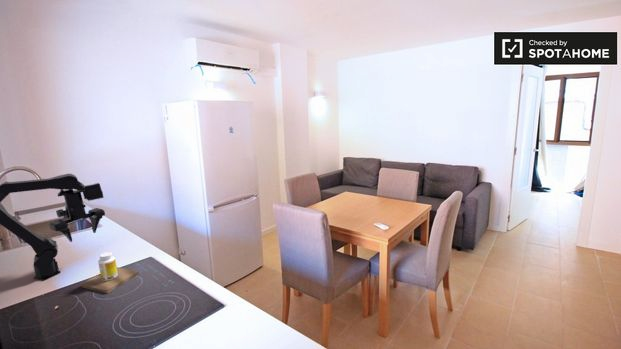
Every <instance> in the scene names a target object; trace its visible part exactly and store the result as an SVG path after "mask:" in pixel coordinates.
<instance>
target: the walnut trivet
mask: <svg viewBox="0 0 621 349" xmlns="http://www.w3.org/2000/svg"><path fill="white" fill-rule="evenodd" d="M116 267H117V272H118V275H117V277H116V278H114V279H112V280H109V281H103V280H102V279H101V274H100V273H98V274H97V275H95V276H93V277H90V278H89V279H87V280H85V281H83V282H82V283H80V288H81V289H82V288H83V289H88V290H92V291H95V292H100V293H104V294H109V293H110V292H112V291H113V290H115V289H117V288H119V287H120V286H122V285H124V284H125V283H127V282H128V281H130V280H131V279H133V278H135V277H137V276H138V275H139V274H140V273H139V271H137V270H133V269H128V268H124V267H123V268H122V267H118V266H116ZM136 275H137V276H136Z"/></svg>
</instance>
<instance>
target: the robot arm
mask: <svg viewBox="0 0 621 349" xmlns="http://www.w3.org/2000/svg"><path fill="white" fill-rule="evenodd" d="M49 189H50V190H51V189H52V190H60V191H58V192H57V197H63V198H64V202H65V207H64V208H65V210H64V209H62V208H60V209H57V210H56V211H55V213H56V216H57V218H63V219H65V220H63V219H57V220H55V221H52V222H50V223H49V225H48V226H49V229H50V231H51V230H52V231H55V232H59V233H62V234H63V235H64V236H65V237H66V239H67V240H68V241H69V242H70V243H72V242H73V237H72V232H71V230H70V227H69V226H68V225H71V224H74V223H77V222H80V221H82V220H86V219H89V220H90V223H91V224H90V225H91V230H92V233H93V234H95V233H96V232H97V229H98V226H99V223H100V221H101V219H103V217H104V216H106V213H105V210H104V209H102V208H99V207H95V208H91V209H89V210H88V211H87V212H86V207H87V206H86V204H84V201H83V200H86V201H88V202H89V201H94V200H100V199H104V192H103V190H102V188H101V184H100V183H99V182H96V183H93V184H88V185H84V184H83V182H80V181H79V180H78V177H77V176H76V175H75V174H73V173H65V174H60V175H56V176H54V177H49V178H42V179H29V180H19V181H4V182H2V183H1V184H0V226H2V227H4V228H5V229H6V230H7V231H9V232H10V233H12V234H13V235H14V236H16V237H18V238H19V239H20V240H22V241H23V242H24V243H26V244H27V245H29V247H31V249H32V250H33V251H34V252H35V255H34V259H33V264H32V265H33V266H32V267H33V269H34V274H35V275H34V276H33V279H37V280H41V281H46V280H48V279H50V278H52V277H54V276H56V275H58V274H60V273H61V271H60V269H59V264H58V261H56V257H57V255H58V251H59V249H58V248H59V247H58V243H57V240H54V239H52V237H50V235H47V236H46V237H42V236H40V235H38V234H37V233H36V232H34V231H33V230H32V229H30V228H29V227H28V226H27V225H25V224H24V223H22V222H21V221H19V220H18V219H17V218H16V217H14V216H13V215H11V214H10V213H9V212H8V210H7V209H6V207H4V205H3V204H2V203H1V202H2V201H4V199H6V198H7V196H8V195H10V194H12V193H23V192H28V191H29V192H33V191H41V190H49ZM83 198H84V199H83Z"/></svg>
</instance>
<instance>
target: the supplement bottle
mask: <svg viewBox="0 0 621 349" xmlns="http://www.w3.org/2000/svg"><path fill="white" fill-rule="evenodd" d="M117 267H118V266H117V262H116V257H115V256H113V254H112V252H111V251H106V252H103V253H101V254H99V260H98V269H99V274H101V279H102V280H103V281H109V280H112V279H114V278H116V277H117V275H118V272H117Z"/></svg>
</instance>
